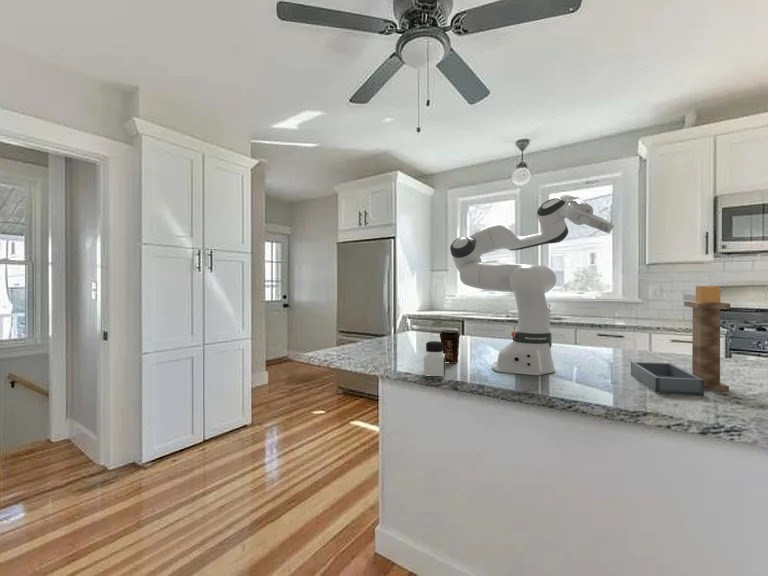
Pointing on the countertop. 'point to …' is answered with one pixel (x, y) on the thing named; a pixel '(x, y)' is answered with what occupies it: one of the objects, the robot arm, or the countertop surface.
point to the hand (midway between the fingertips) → (599, 227)
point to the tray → (667, 378)
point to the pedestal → (707, 343)
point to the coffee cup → (450, 345)
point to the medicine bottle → (434, 359)
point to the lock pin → (705, 294)
